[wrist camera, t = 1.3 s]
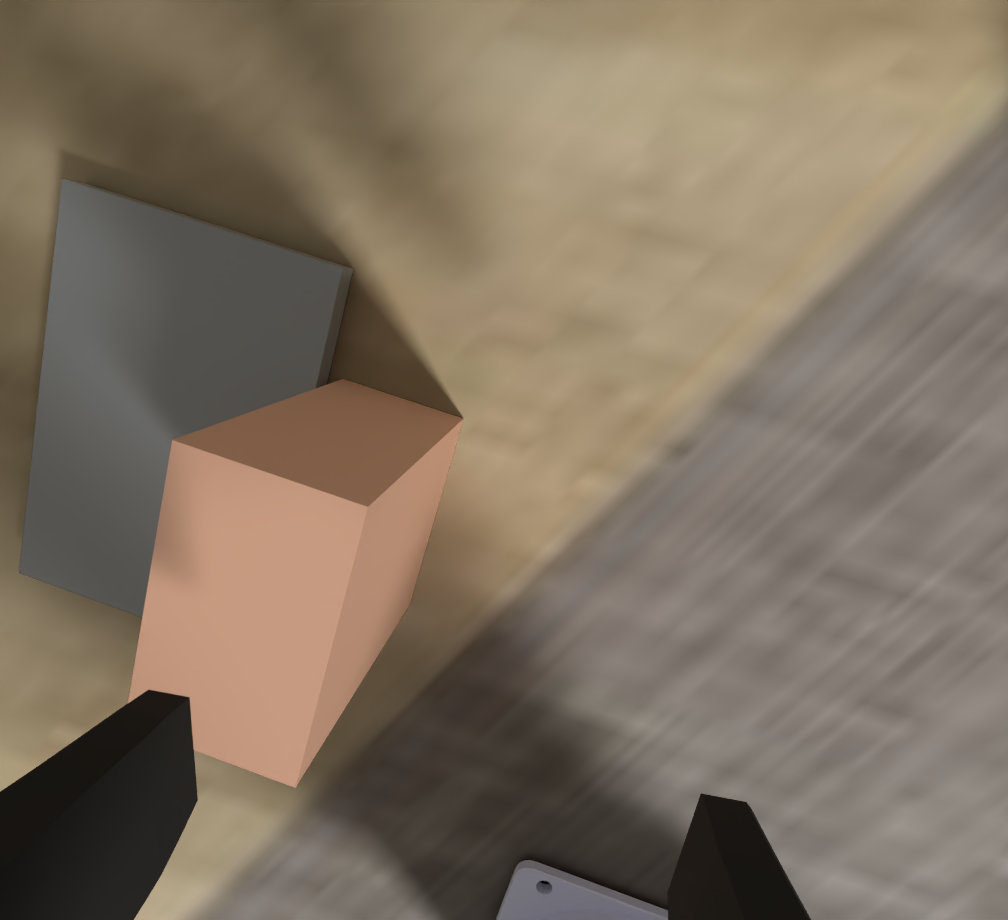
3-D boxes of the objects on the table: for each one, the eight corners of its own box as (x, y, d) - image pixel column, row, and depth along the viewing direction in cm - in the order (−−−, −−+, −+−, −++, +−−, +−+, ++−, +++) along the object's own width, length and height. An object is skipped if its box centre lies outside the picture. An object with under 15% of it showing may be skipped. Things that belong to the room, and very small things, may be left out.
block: (463, 418, 19) (367, 506, 12) (409, 604, 21) (295, 787, 13) (343, 378, 20) (172, 439, 12) (299, 565, 21) (124, 724, 14)
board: (353, 268, 19) (342, 267, 18) (267, 645, 22) (255, 658, 21) (83, 182, 19) (61, 178, 19) (38, 562, 23) (18, 572, 22)
